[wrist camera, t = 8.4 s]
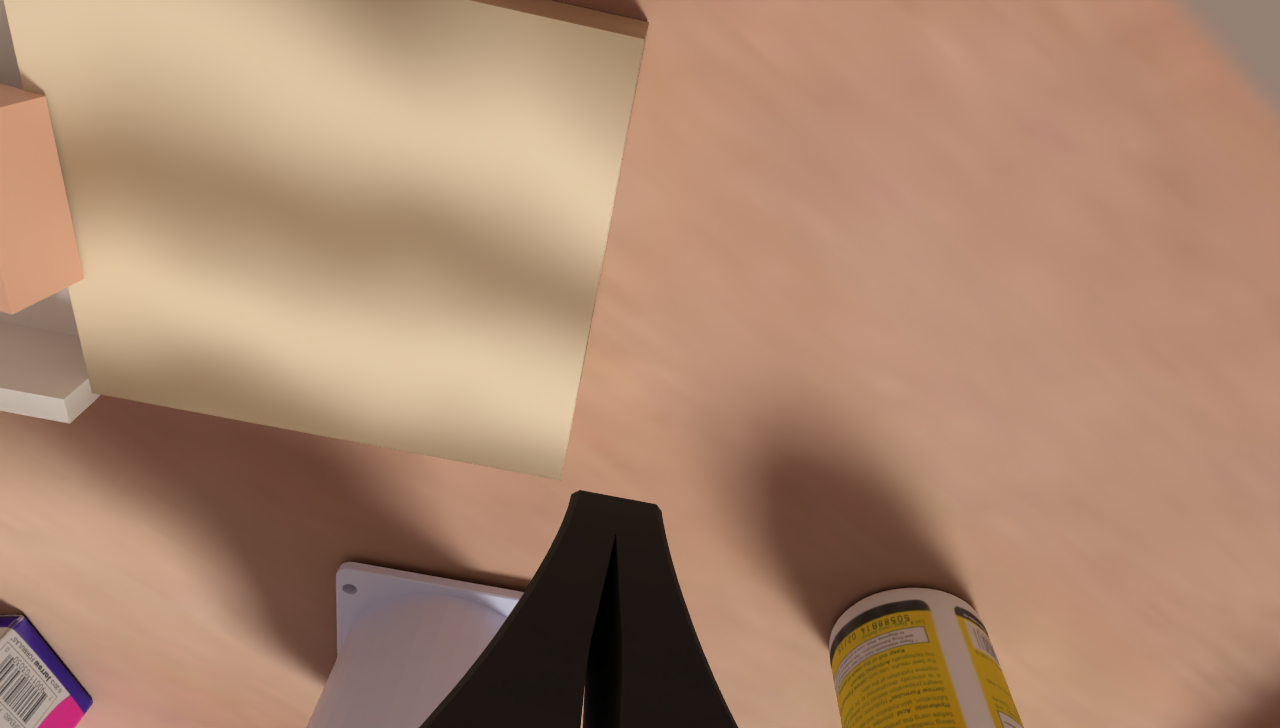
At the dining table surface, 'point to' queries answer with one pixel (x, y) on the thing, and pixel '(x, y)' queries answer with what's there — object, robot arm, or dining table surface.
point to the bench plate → (341, 208)
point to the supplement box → (35, 681)
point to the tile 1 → (32, 206)
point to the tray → (40, 329)
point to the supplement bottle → (917, 664)
